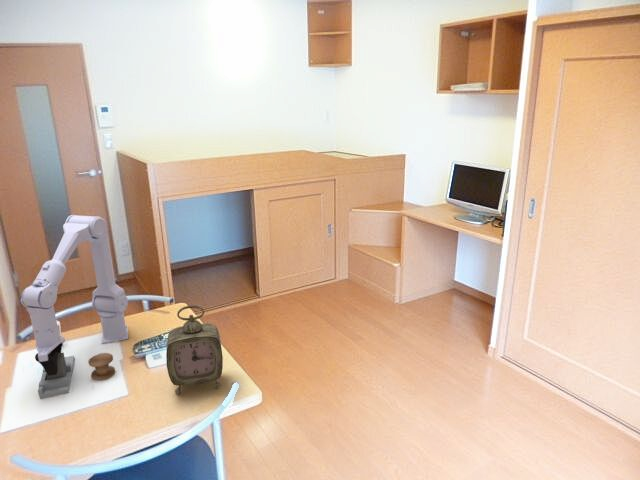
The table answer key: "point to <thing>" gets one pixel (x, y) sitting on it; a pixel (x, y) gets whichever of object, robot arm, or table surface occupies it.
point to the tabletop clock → (194, 352)
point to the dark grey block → (59, 368)
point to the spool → (102, 366)
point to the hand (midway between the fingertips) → (54, 369)
